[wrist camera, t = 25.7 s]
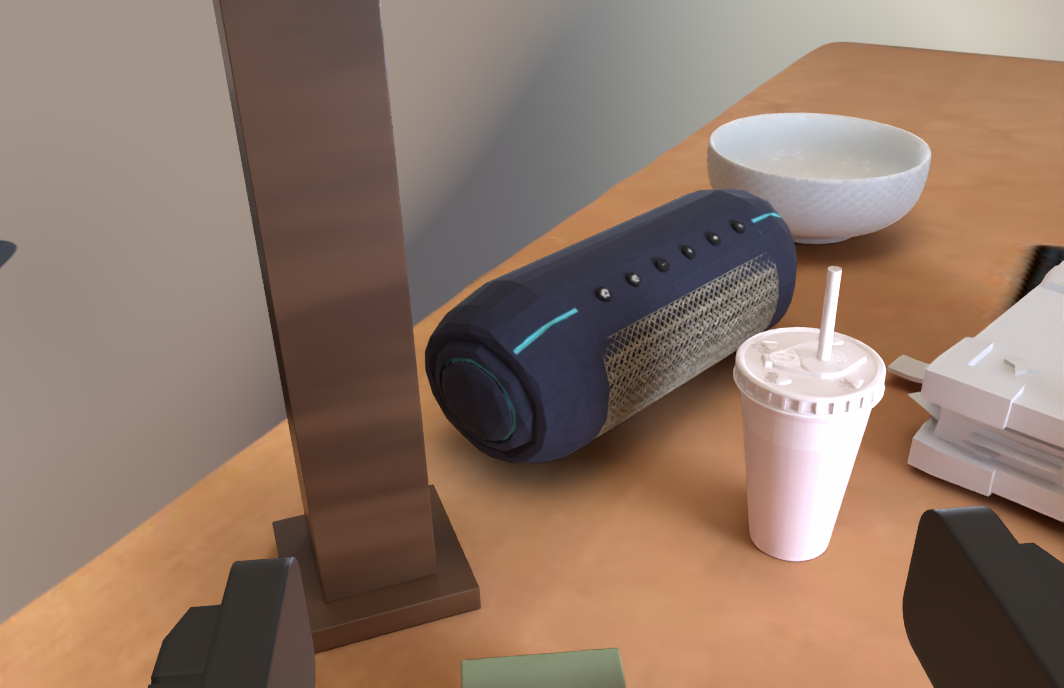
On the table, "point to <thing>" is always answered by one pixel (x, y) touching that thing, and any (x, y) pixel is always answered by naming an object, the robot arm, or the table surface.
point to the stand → (340, 315)
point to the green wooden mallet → (546, 670)
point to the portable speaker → (610, 324)
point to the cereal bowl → (822, 171)
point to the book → (999, 404)
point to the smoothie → (803, 427)
